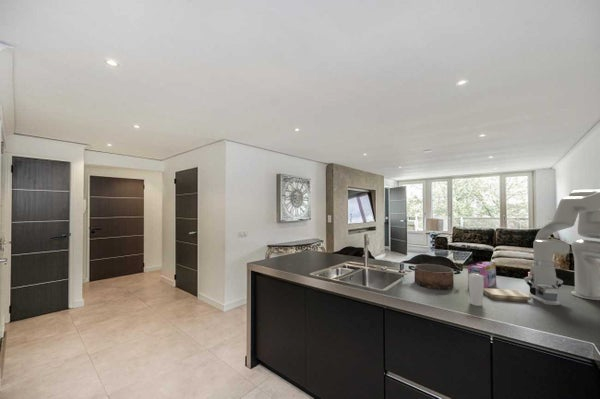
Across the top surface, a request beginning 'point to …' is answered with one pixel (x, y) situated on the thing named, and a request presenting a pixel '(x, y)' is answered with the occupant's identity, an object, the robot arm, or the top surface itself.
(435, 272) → the cooking pot
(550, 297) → the block
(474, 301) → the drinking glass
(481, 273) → the gum box
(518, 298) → the wavy cream panel
